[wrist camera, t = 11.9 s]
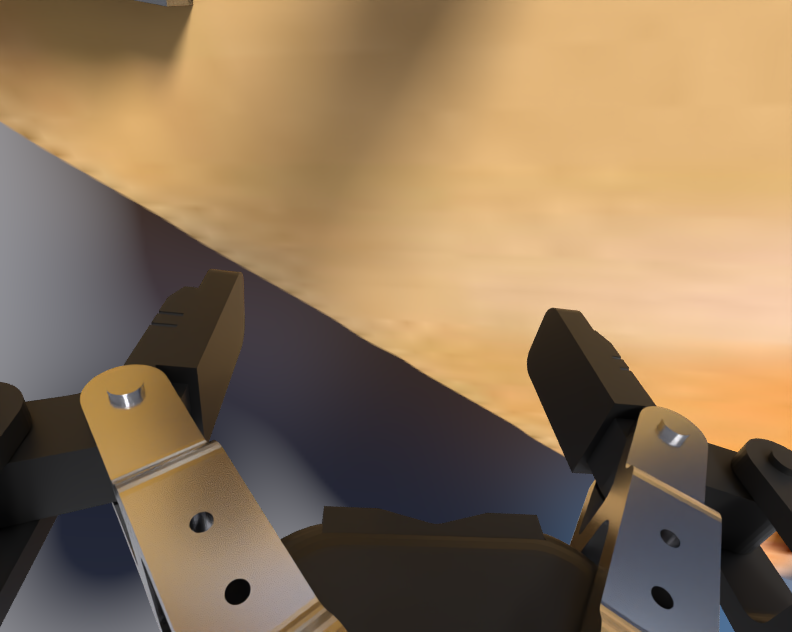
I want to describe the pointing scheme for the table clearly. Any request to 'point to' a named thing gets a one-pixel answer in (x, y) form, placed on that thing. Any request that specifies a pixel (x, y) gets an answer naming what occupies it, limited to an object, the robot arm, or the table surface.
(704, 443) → the robot arm
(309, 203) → the table surface
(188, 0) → the bay
